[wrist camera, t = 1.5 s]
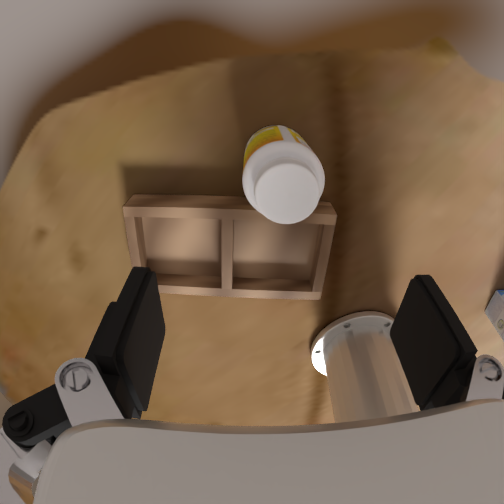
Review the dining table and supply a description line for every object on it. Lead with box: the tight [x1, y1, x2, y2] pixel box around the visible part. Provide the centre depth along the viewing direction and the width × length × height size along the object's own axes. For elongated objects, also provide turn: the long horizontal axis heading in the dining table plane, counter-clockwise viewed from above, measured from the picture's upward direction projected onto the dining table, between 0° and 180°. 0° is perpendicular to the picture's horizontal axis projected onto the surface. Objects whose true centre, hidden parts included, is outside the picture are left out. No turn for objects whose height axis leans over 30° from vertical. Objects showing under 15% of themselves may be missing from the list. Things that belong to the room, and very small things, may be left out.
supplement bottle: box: [242, 125, 325, 224], centre depth 23 cm, size 6×6×10 cm
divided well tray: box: [123, 194, 337, 300], centre depth 31 cm, size 19×10×3 cm, turn 87°
